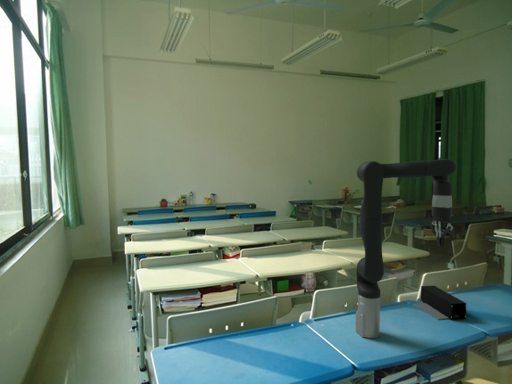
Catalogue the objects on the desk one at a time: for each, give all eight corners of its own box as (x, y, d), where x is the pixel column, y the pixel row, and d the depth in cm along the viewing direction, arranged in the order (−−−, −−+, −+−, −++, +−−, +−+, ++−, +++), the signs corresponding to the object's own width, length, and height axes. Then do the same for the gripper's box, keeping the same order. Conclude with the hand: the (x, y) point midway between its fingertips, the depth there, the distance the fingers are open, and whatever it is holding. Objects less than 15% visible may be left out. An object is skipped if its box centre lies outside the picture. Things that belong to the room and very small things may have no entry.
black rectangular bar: (466, 303, 164) (431, 283, 192) (451, 303, 163) (417, 284, 191) (466, 319, 164) (430, 297, 192) (450, 319, 164) (417, 297, 191)
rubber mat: (438, 319, 164) (438, 318, 164) (413, 305, 183) (413, 304, 182) (460, 317, 167) (460, 316, 167) (433, 303, 185) (433, 302, 185)
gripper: (423, 204, 153) (422, 242, 154) (445, 207, 140) (444, 249, 142) (438, 204, 155) (437, 242, 156) (461, 207, 142) (459, 248, 143)
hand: (440, 245), depth 149 cm, fingers closed
